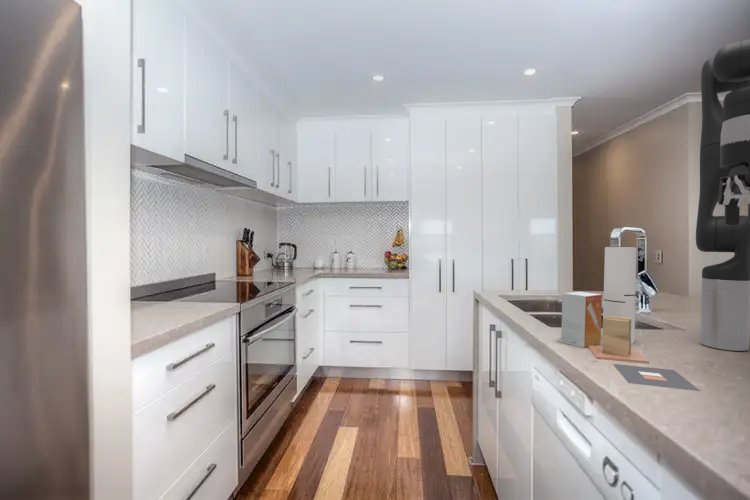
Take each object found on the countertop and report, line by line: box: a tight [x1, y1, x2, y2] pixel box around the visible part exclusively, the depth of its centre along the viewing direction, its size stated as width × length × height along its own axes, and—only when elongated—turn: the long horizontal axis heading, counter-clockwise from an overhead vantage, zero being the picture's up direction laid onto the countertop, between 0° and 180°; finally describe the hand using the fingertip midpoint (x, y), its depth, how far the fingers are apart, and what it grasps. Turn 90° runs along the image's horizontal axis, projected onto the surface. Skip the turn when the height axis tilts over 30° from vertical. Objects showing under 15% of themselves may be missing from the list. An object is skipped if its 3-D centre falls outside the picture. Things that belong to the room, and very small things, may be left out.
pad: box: [587, 345, 650, 365], centre depth 90 cm, size 10×10×1 cm
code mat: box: [612, 363, 701, 392], centre depth 76 cm, size 12×11×1 cm
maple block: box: [601, 316, 632, 357], centre depth 90 cm, size 5×5×8 cm
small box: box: [560, 291, 603, 348], centre depth 100 cm, size 8×6×13 cm
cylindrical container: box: [602, 246, 637, 345], centre depth 103 cm, size 7×7×25 cm
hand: (743, 224), depth 77 cm, fingers open, 8 cm apart
